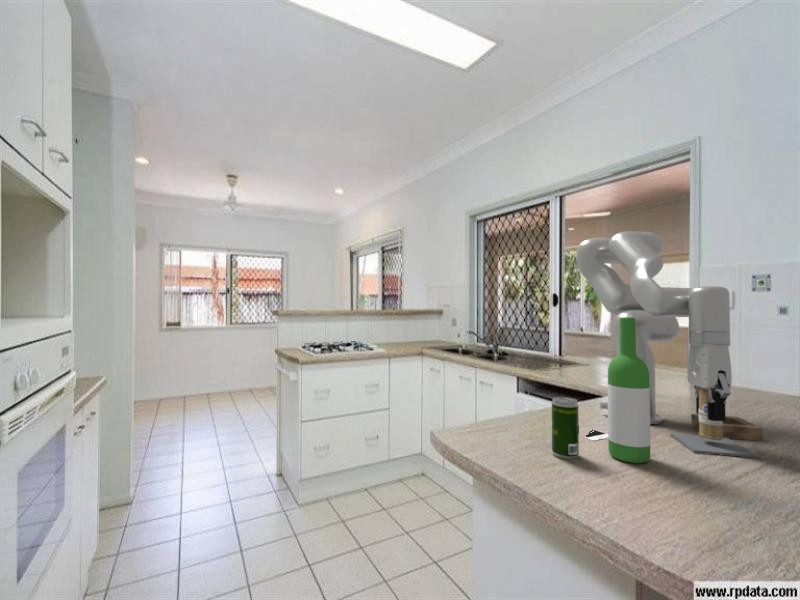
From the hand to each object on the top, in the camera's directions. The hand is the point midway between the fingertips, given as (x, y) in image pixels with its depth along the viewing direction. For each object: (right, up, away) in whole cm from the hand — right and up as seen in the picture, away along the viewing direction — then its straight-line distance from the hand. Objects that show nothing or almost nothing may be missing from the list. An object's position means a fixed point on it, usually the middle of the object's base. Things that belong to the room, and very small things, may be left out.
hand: (710, 416), depth 89 cm
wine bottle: (-24, -7, -8) cm, 26 cm away
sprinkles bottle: (0, -5, 0) cm, 5 cm away
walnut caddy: (+12, -7, +10) cm, 17 cm away
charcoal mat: (0, -7, 0) cm, 7 cm away
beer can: (-37, -7, -6) cm, 38 cm away
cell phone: (-26, -8, +12) cm, 29 cm away
